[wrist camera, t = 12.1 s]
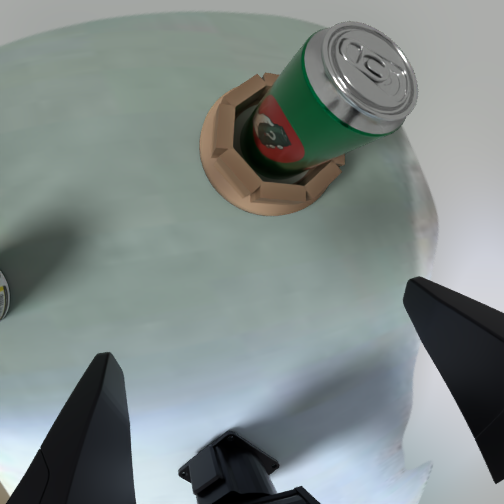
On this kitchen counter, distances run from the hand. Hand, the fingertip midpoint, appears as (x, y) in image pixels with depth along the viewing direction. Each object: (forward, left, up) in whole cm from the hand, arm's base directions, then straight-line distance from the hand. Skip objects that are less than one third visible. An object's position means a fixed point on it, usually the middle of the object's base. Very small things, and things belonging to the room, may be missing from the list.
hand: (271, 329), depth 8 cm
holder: (+4, -9, -13) cm, 17 cm away
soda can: (+4, -9, -12) cm, 16 cm away
